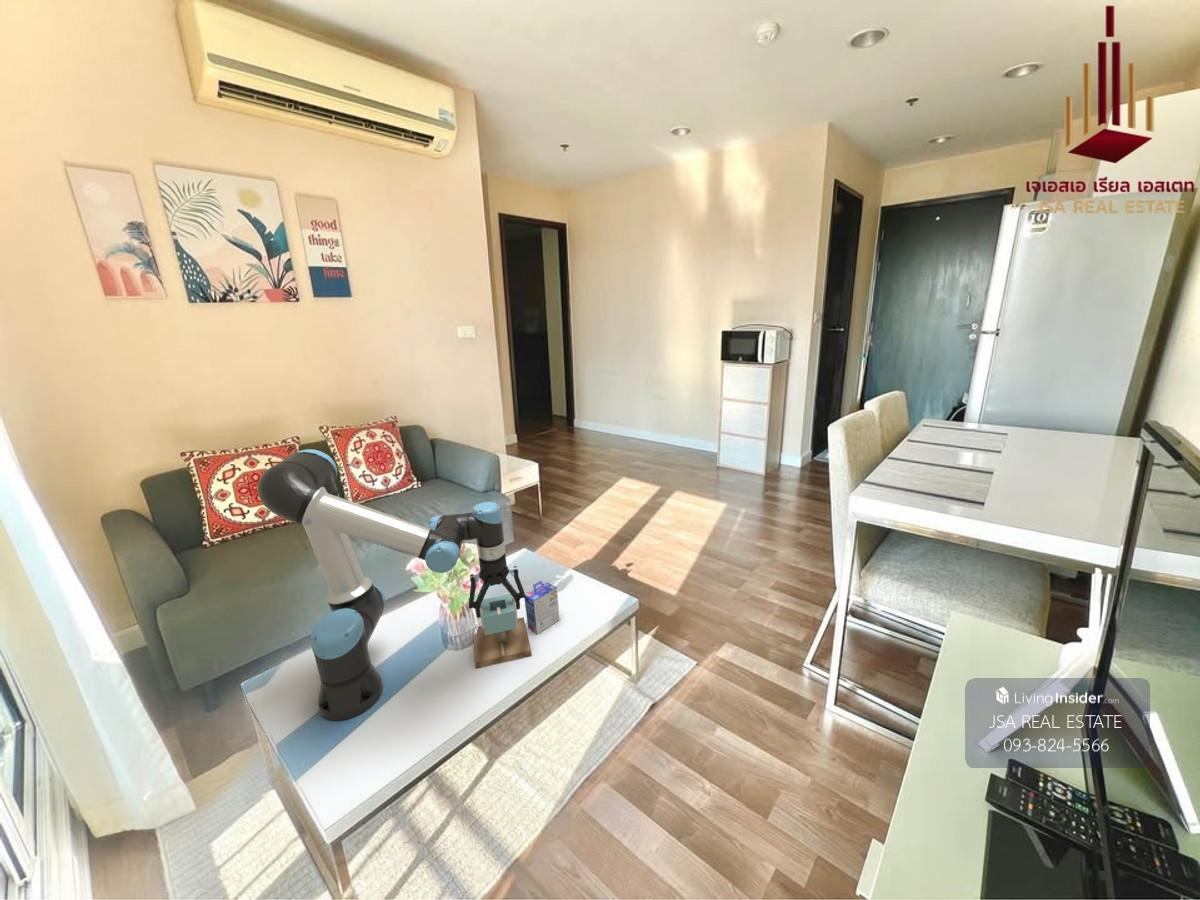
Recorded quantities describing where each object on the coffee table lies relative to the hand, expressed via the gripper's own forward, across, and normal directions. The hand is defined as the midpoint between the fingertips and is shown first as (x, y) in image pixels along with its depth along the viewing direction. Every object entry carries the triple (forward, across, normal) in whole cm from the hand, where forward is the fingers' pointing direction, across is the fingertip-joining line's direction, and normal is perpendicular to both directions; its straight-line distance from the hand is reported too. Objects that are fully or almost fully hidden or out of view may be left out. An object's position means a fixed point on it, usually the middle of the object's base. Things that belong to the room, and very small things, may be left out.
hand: (499, 621), depth 139 cm
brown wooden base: (+8, 0, 0) cm, 8 cm away
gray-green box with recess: (0, 0, 0) cm, 0 cm away
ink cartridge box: (+8, +14, +6) cm, 17 cm away
